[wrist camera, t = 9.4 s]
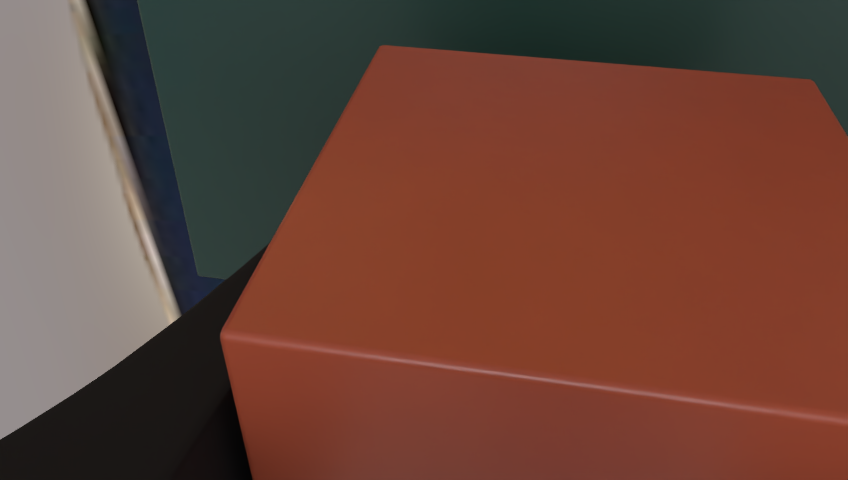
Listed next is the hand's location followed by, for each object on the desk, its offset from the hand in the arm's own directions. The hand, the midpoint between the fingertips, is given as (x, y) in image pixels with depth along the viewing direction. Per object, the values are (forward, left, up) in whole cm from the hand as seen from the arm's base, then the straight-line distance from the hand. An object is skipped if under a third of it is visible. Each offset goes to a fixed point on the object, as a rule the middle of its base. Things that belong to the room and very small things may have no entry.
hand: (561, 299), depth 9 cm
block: (0, 0, -1) cm, 1 cm away
